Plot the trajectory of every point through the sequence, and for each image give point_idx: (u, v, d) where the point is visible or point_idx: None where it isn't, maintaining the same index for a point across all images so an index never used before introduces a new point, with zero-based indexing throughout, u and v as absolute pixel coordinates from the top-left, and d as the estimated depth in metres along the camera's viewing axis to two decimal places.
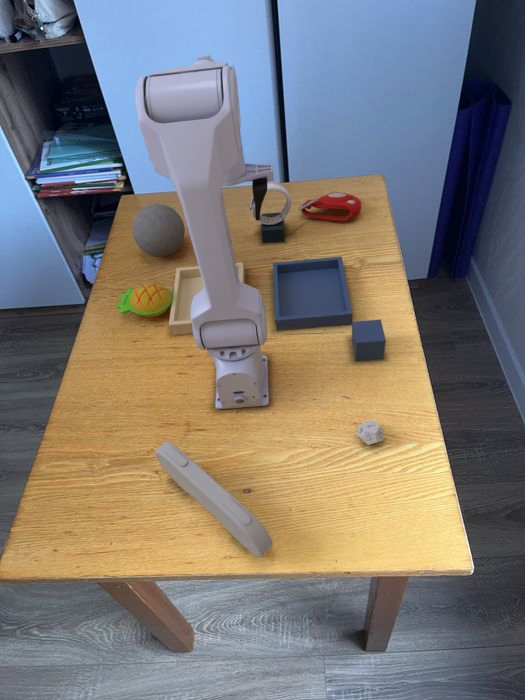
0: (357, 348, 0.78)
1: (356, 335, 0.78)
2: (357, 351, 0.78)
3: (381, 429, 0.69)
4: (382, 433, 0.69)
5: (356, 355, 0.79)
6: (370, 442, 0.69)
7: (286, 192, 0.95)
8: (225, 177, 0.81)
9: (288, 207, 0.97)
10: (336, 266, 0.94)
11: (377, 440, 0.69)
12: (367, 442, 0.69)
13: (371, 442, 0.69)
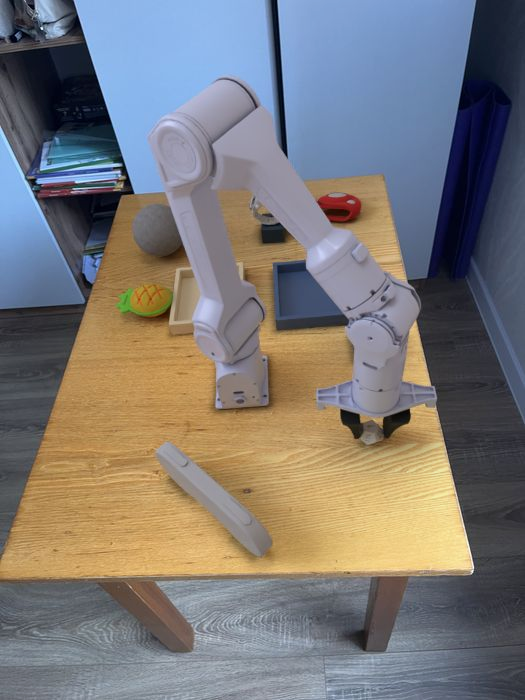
0: None
1: None
2: None
3: (380, 429, 0.69)
4: (381, 433, 0.69)
5: None
6: (369, 442, 0.69)
7: None
8: (375, 409, 0.61)
9: None
10: None
11: (376, 440, 0.69)
12: (366, 442, 0.69)
13: (370, 442, 0.69)
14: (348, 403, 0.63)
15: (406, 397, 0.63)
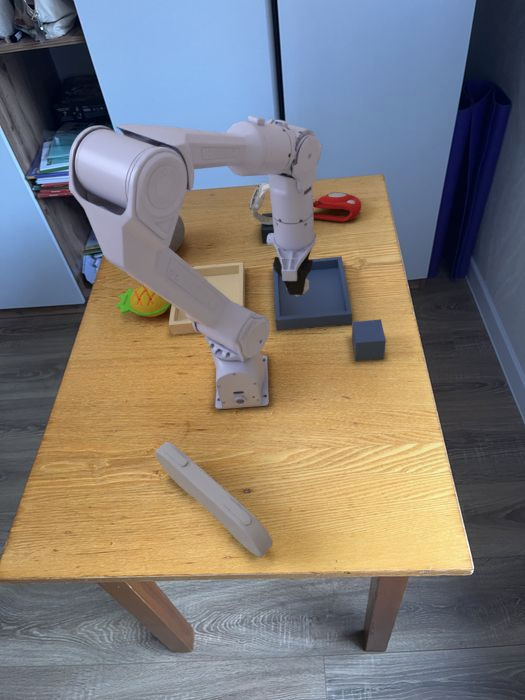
0: (357, 348, 0.78)
1: (356, 335, 0.78)
2: (357, 351, 0.78)
3: None
4: None
5: (356, 355, 0.79)
6: (307, 285, 0.80)
7: None
8: (313, 234, 0.73)
9: None
10: (336, 266, 0.94)
11: (307, 279, 0.81)
12: (307, 287, 0.80)
13: (307, 284, 0.81)
14: (299, 255, 0.72)
15: None
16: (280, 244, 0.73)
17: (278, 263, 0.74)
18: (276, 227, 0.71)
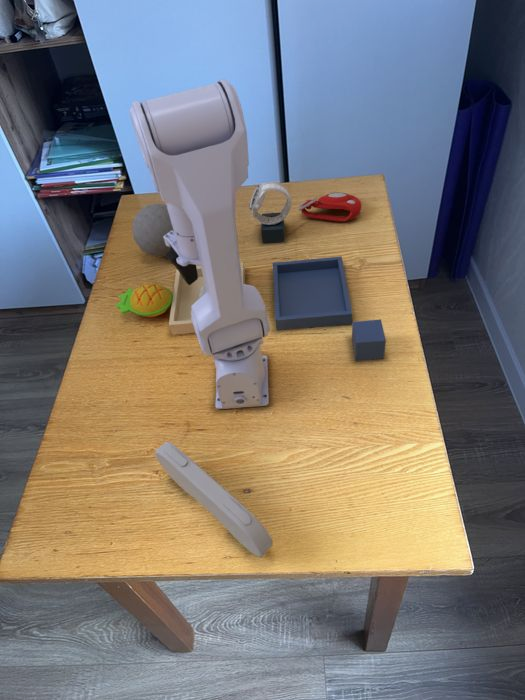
0: (357, 348, 0.78)
1: (356, 335, 0.78)
2: (357, 351, 0.78)
3: None
4: None
5: (356, 355, 0.79)
6: None
7: (286, 192, 0.95)
8: None
9: (288, 207, 0.97)
10: (336, 266, 0.94)
11: None
12: None
13: None
14: None
15: None
16: (198, 256, 0.81)
17: None
18: (191, 243, 0.79)
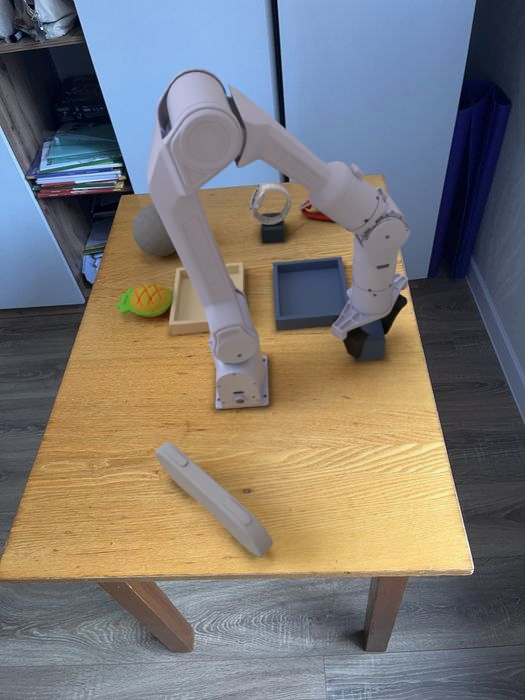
0: None
1: None
2: None
3: None
4: None
5: None
6: None
7: (286, 192, 0.95)
8: (386, 307, 0.71)
9: (288, 207, 0.97)
10: (336, 266, 0.94)
11: None
12: None
13: None
14: (361, 319, 0.72)
15: None
16: (351, 300, 0.73)
17: None
18: None
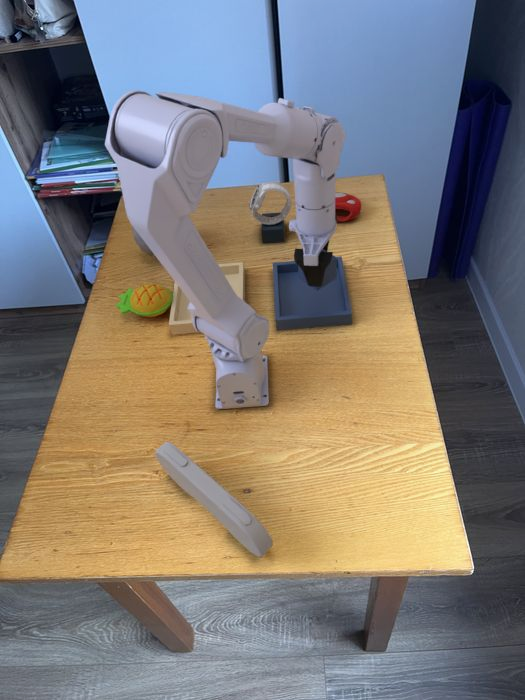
0: None
1: None
2: None
3: None
4: None
5: None
6: None
7: (286, 192, 0.95)
8: (334, 221, 0.75)
9: (288, 207, 0.97)
10: None
11: None
12: None
13: None
14: (320, 240, 0.74)
15: None
16: (302, 230, 0.75)
17: (298, 254, 0.75)
18: (299, 213, 0.73)
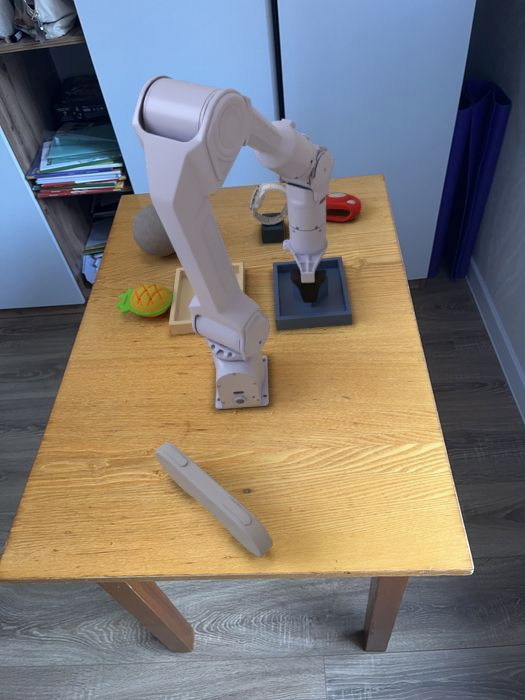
0: None
1: None
2: None
3: None
4: None
5: None
6: None
7: None
8: (326, 239, 0.80)
9: None
10: (336, 266, 0.94)
11: None
12: None
13: None
14: (314, 258, 0.79)
15: None
16: (296, 249, 0.80)
17: (294, 274, 0.80)
18: (293, 234, 0.78)
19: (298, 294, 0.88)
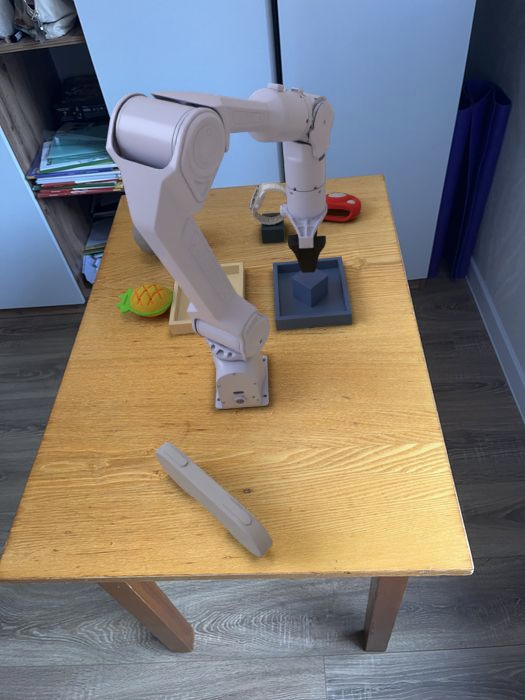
0: (311, 294, 0.86)
1: (305, 284, 0.85)
2: (312, 297, 0.86)
3: None
4: None
5: (311, 301, 0.87)
6: None
7: None
8: (325, 202, 0.75)
9: None
10: (336, 266, 0.94)
11: None
12: None
13: None
14: (313, 223, 0.74)
15: None
16: (294, 213, 0.75)
17: (292, 240, 0.75)
18: (290, 196, 0.73)
19: (298, 294, 0.88)
